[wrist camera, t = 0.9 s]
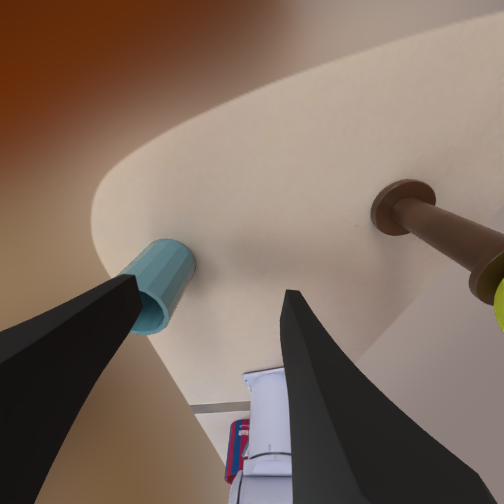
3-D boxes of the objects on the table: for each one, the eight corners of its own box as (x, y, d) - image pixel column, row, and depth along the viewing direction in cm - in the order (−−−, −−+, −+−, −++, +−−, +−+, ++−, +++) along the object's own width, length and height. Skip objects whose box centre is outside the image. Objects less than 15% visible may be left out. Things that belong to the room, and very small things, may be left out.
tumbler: (204, 274, 22) (181, 327, 16) (162, 286, 23) (126, 340, 17) (180, 232, 20) (142, 274, 14) (135, 247, 21) (82, 293, 15)
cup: (268, 421, 37) (269, 476, 31) (262, 444, 42) (262, 495, 36) (231, 417, 37) (224, 471, 31) (229, 441, 42) (223, 491, 36)
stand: (428, 223, 18) (575, 300, 10) (372, 238, 19) (460, 321, 11) (430, 170, 16) (619, 208, 8) (367, 190, 17) (471, 244, 8)
